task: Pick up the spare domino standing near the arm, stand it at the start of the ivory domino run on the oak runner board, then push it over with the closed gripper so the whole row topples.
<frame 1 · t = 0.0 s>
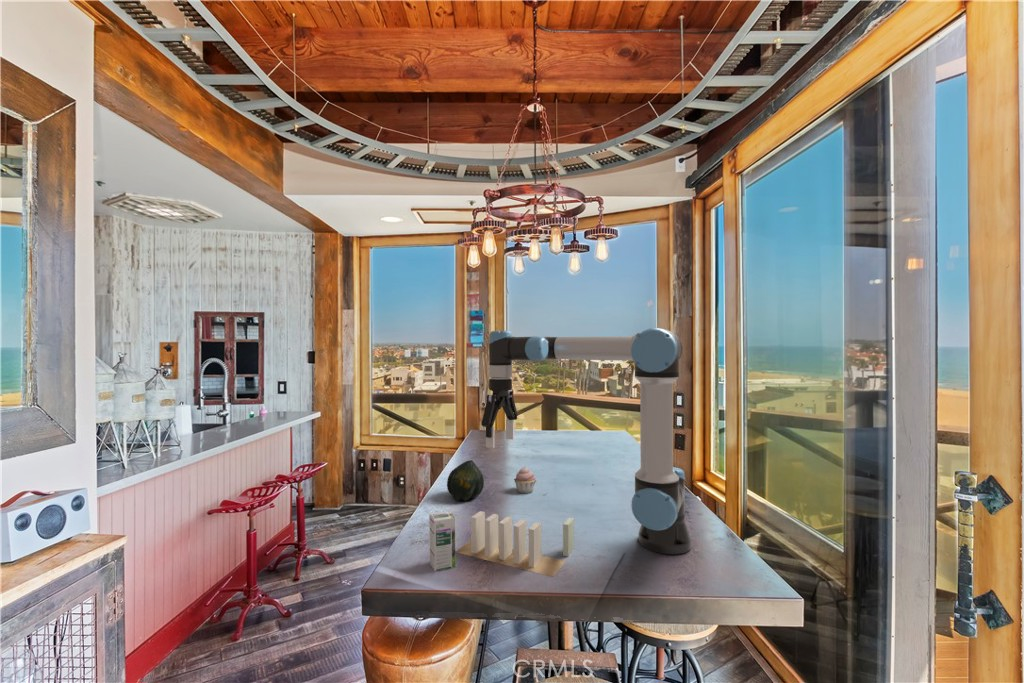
hand: (500, 443, 146), 28 cm above the table, fingers open, 13 cm apart
domino 6: (478, 549, 130), point 1 cm above the table, touching runner board
syrup box: (442, 569, 121), on the table
domino 1: (568, 556, 128), on the table
domino 5: (491, 552, 128), point 1 cm above the table, touching runner board
squash: (465, 497, 177), on the table
domino 2: (535, 562, 122), point 1 cm above the table, touching runner board
domino 3: (520, 559, 124), point 1 cm above the table, touching runner board
cupcake: (525, 491, 184), on the table
runner board: (508, 560, 125), on the table
domino 4: (505, 555, 126), point 1 cm above the table, touching runner board
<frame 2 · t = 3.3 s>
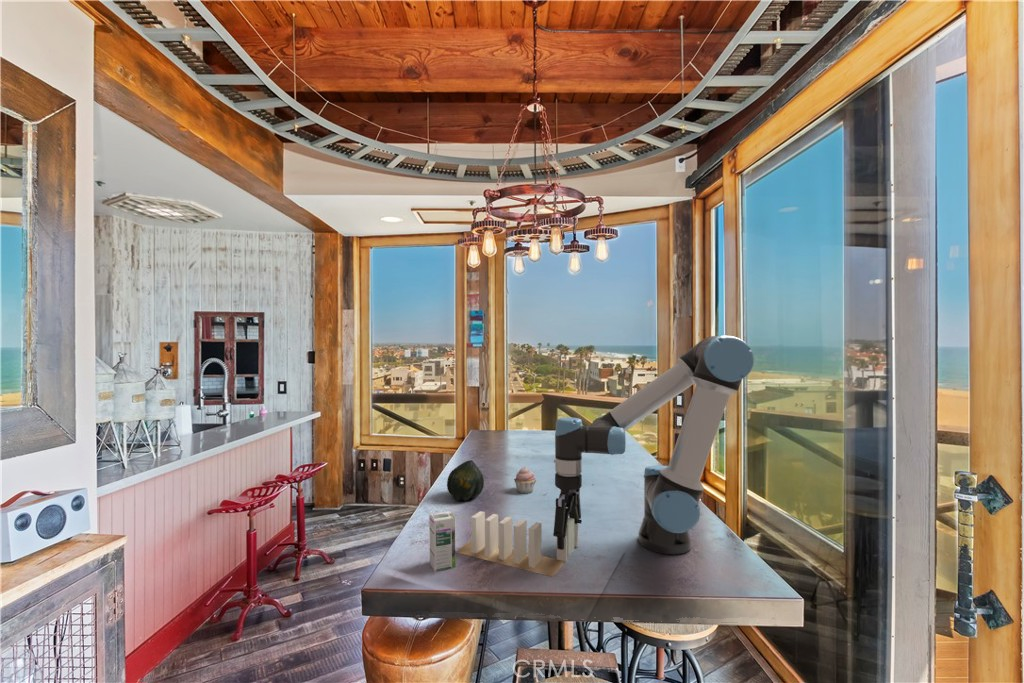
hand: (567, 552, 127), 1 cm above the table, fingers open, 9 cm apart
nothing on the table moved.
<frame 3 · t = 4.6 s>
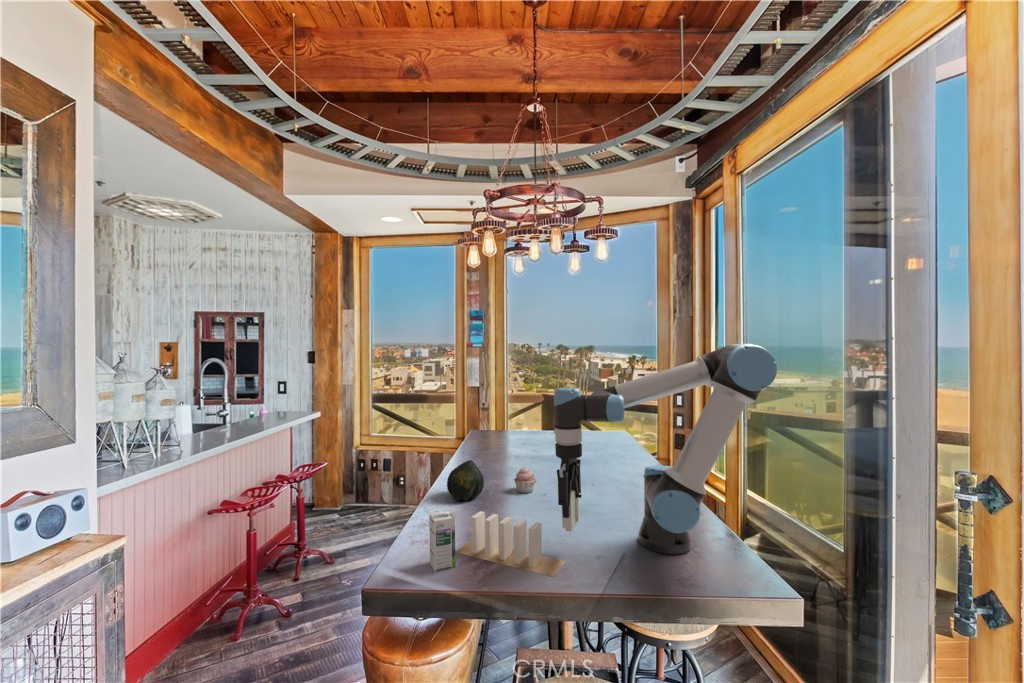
hand: (570, 524, 128), 9 cm above the table, fingers closed on domino 1, 5 cm apart
domino 1: (571, 527, 128), point 8 cm above the table, touching gripper
everything else where it was.
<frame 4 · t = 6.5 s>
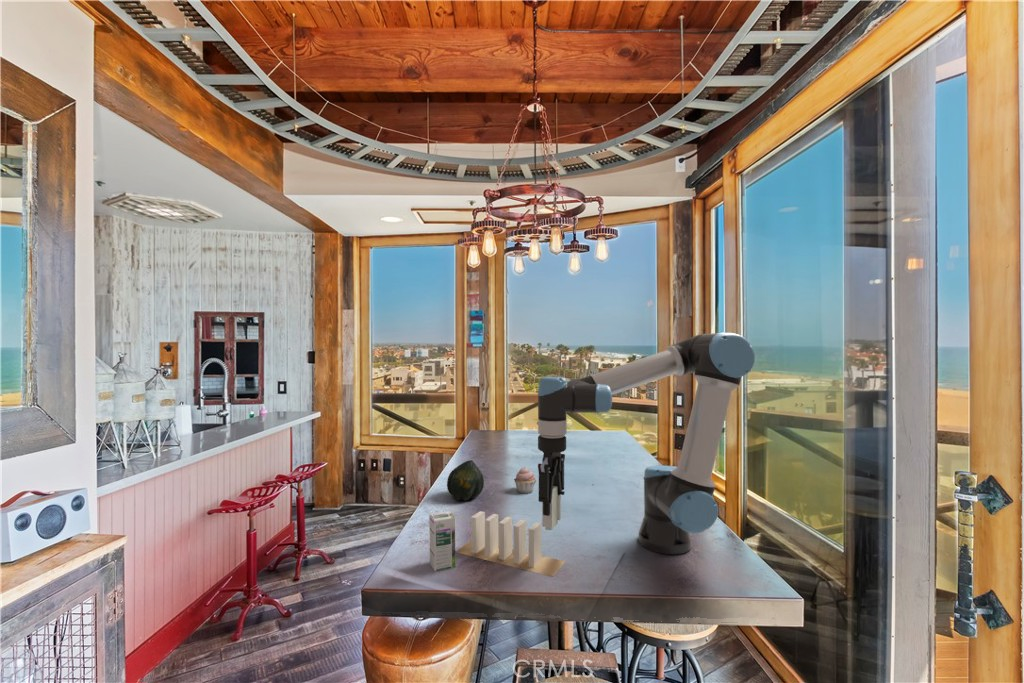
hand: (551, 522, 119), 13 cm above the table, fingers closed on domino 1, 5 cm apart
domino 1: (551, 526, 119), point 12 cm above the table, touching gripper
everything else where it was.
when the fingers open (2 cm above the table, at t = 8.5 s): domino 1 stays where it is, resting on runner board.
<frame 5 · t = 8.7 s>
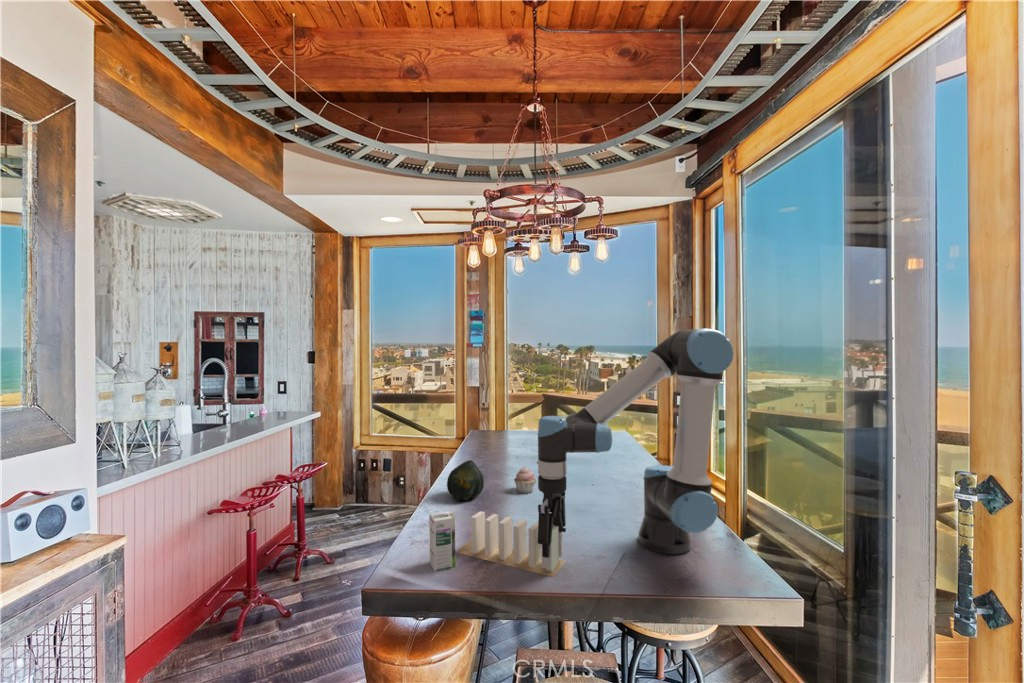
hand: (552, 561, 119), 3 cm above the table, fingers open, 7 cm apart
domino 1: (552, 567, 119), point 1 cm above the table, touching runner board
everything else where it was.
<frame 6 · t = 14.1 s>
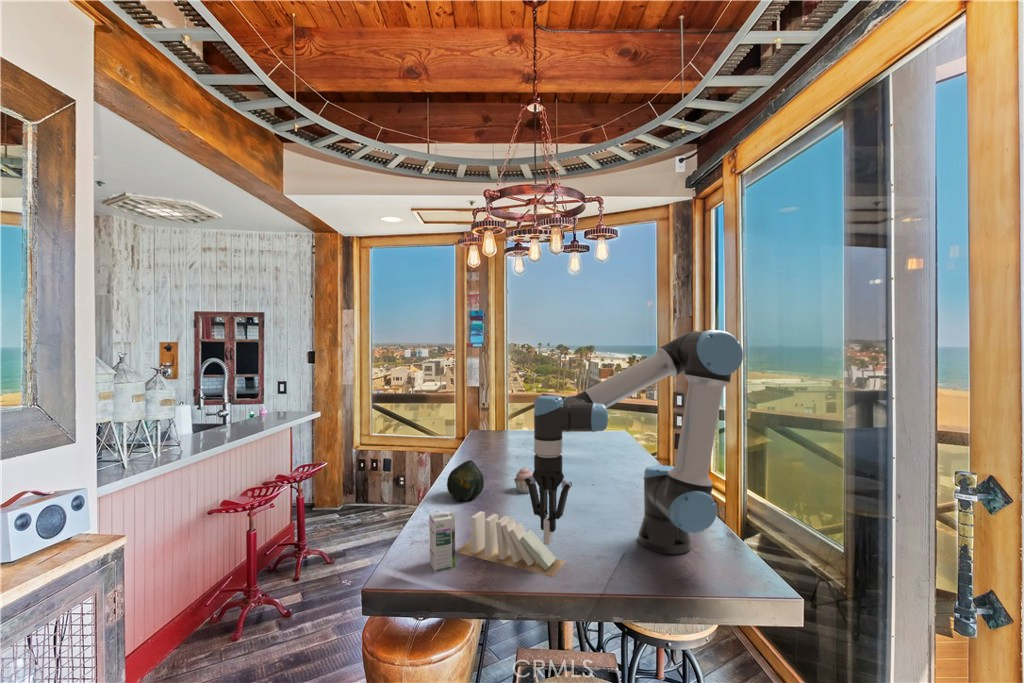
hand: (548, 542, 120), 7 cm above the table, fingers closed
domino 1: (551, 564, 119), point 2 cm above the table, tilted 50°, touching runner board
domino 2: (534, 560, 122), point 2 cm above the table, tilted 36°, touching runner board
domino 3: (519, 558, 124), point 1 cm above the table, tilted 22°, touching runner board
domino 4: (505, 555, 126), point 1 cm above the table, tilted 6°, touching runner board
everything else where it was.
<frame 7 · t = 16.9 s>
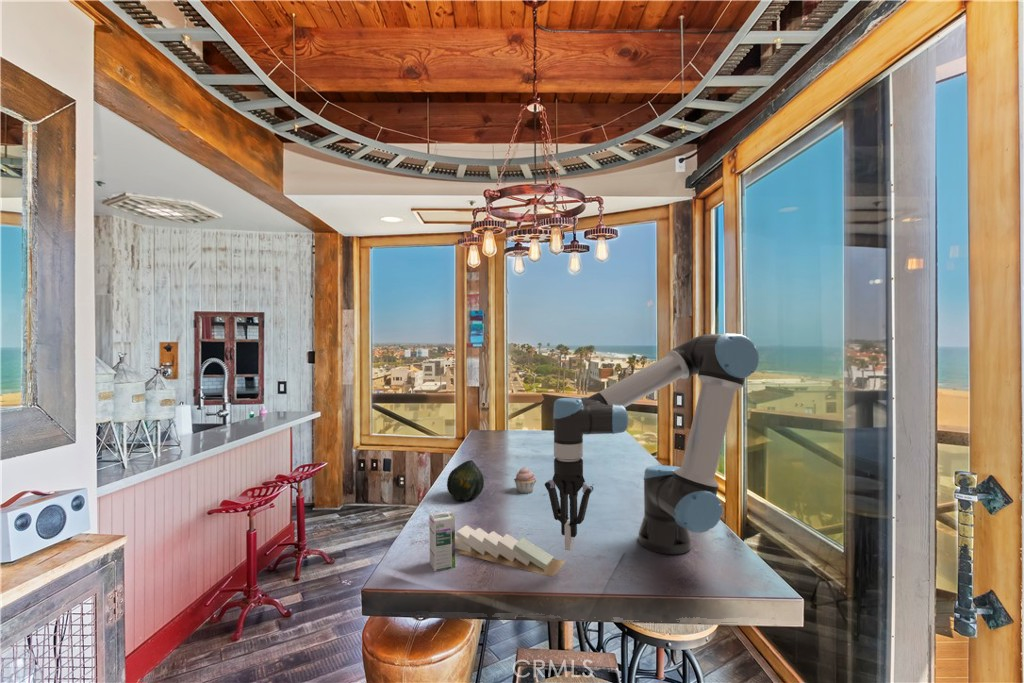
hand: (569, 548, 117), 7 cm above the table, fingers closed
domino 6: (475, 545, 130), point 2 cm above the table, tilted 90°, touching domino 5, runner board
domino 1: (549, 563, 120), point 2 cm above the table, tilted 70°, touching domino 2, runner board
domino 5: (488, 549, 128), point 2 cm above the table, tilted 69°, touching domino 4, domino 6, runner board
domino 2: (532, 559, 122), point 2 cm above the table, tilted 69°, touching domino 1, domino 3, runner board
domino 3: (517, 555, 124), point 2 cm above the table, tilted 69°, touching domino 2, domino 4, runner board
domino 4: (502, 552, 126), point 2 cm above the table, tilted 69°, touching domino 3, domino 5
everything else where it was.
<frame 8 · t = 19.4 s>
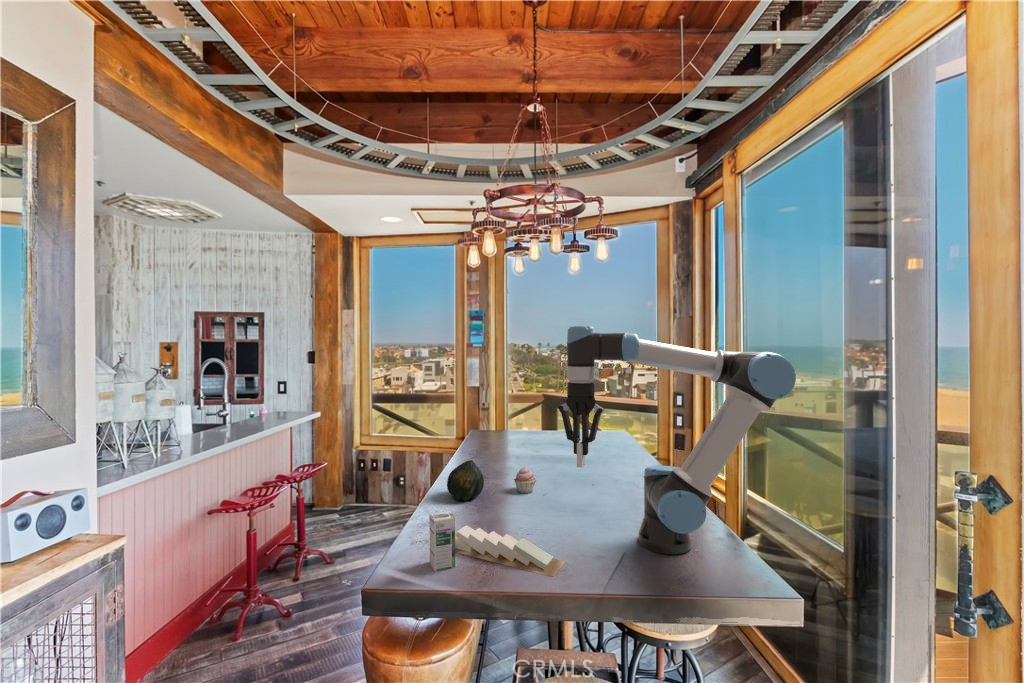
hand: (581, 466, 125), 26 cm above the table, fingers closed
nothing on the table moved.
at the end: domino 6 tilted 90°; domino 1 tilted 70°; the gripper is holding nothing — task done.
